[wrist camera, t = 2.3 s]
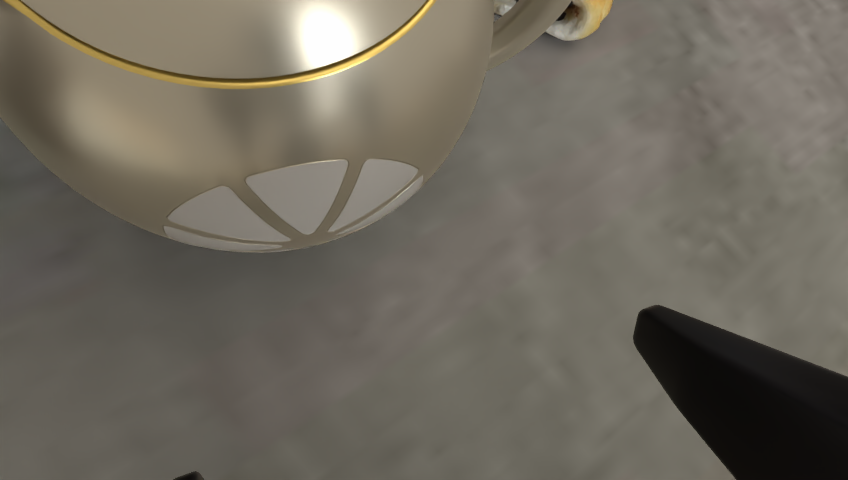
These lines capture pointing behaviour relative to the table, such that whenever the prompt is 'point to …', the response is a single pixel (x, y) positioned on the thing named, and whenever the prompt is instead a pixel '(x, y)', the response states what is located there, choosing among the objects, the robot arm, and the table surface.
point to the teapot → (251, 106)
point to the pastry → (570, 17)
